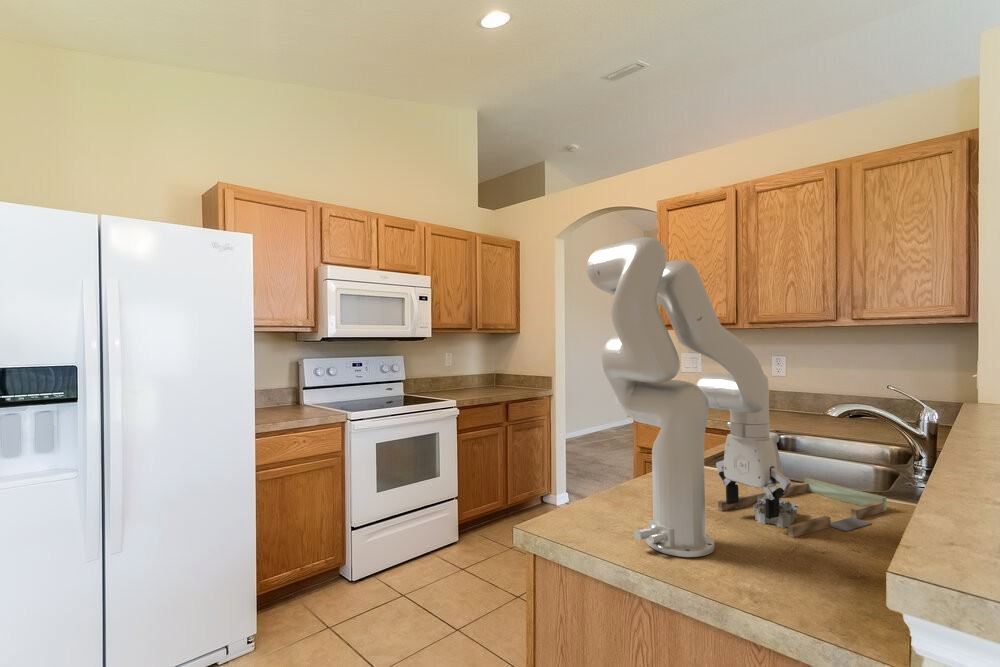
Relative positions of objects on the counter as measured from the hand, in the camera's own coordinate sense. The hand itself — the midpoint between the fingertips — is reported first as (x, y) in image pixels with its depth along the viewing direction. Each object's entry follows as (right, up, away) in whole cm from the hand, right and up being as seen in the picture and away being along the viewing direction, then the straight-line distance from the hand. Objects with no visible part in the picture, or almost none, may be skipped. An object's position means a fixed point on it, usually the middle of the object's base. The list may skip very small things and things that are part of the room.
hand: (751, 510), depth 107 cm
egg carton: (+7, -3, +2) cm, 8 cm away
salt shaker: (+21, -3, +31) cm, 38 cm away
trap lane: (+15, -3, +7) cm, 16 cm away
